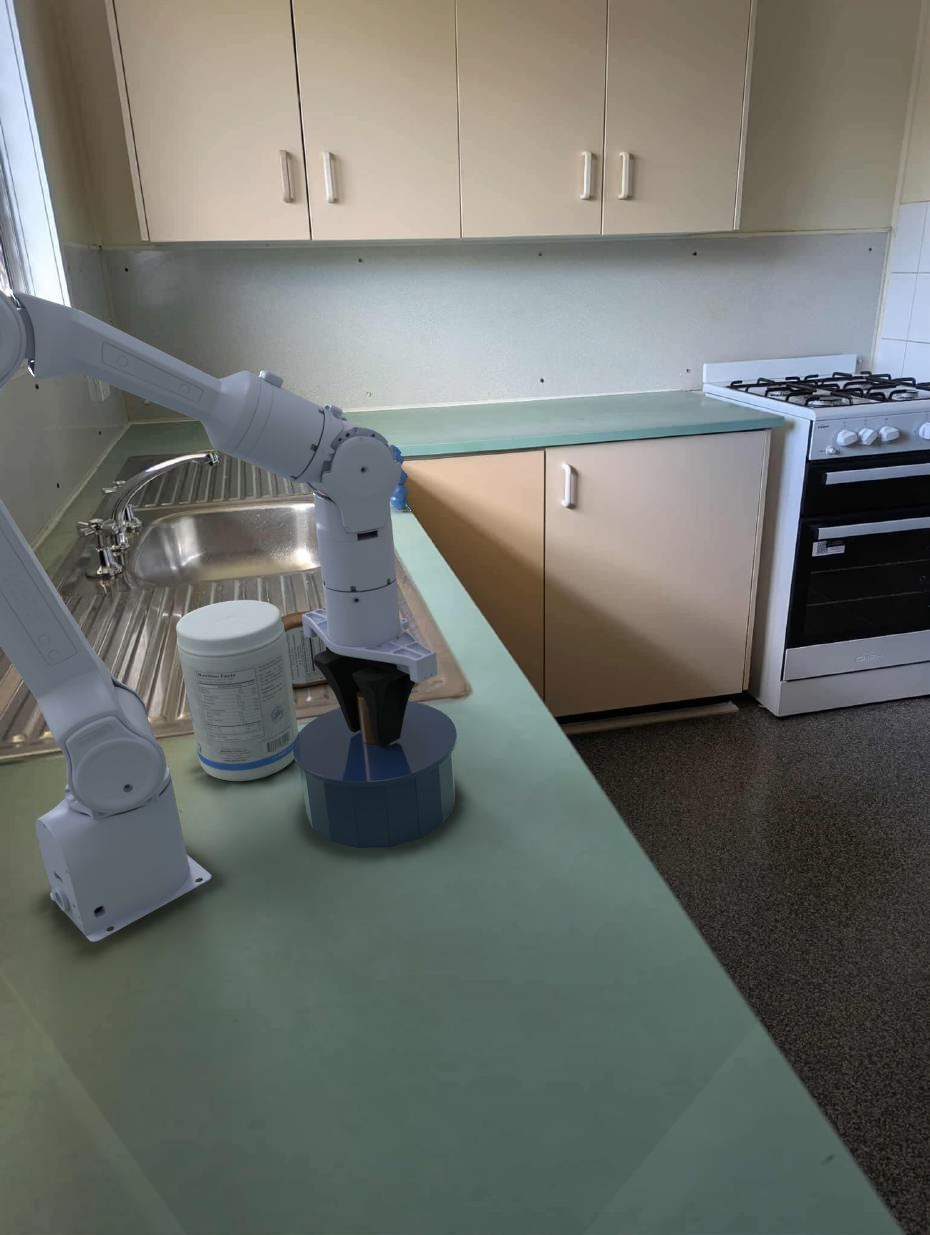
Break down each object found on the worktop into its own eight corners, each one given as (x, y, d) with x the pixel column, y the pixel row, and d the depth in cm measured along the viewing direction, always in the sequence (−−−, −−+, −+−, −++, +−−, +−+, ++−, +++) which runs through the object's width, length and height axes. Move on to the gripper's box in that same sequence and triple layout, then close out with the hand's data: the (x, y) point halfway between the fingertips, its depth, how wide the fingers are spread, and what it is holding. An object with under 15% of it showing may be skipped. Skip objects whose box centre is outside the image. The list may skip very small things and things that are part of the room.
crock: (372, 874, 67) (364, 803, 65) (279, 812, 75) (269, 747, 73) (485, 803, 75) (482, 738, 73) (390, 754, 84) (384, 694, 81)
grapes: (372, 503, 175) (366, 442, 170) (405, 499, 176) (400, 439, 172) (380, 517, 164) (374, 453, 160) (415, 513, 165) (410, 450, 161)
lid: (364, 815, 64) (357, 753, 62) (262, 753, 73) (253, 697, 71) (491, 743, 73) (488, 686, 71) (386, 696, 82) (381, 644, 80)
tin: (394, 662, 103) (388, 595, 100) (401, 672, 100) (395, 604, 97) (265, 685, 99) (255, 616, 96) (269, 697, 96) (258, 626, 93)
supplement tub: (209, 738, 88) (185, 602, 83) (304, 729, 89) (286, 594, 83) (191, 790, 79) (162, 642, 74) (297, 781, 80) (276, 633, 74)
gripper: (462, 585, 65) (470, 743, 70) (343, 550, 75) (358, 691, 80) (390, 612, 61) (405, 780, 66) (273, 571, 70) (294, 720, 75)
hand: (374, 734), depth 73 cm, fingers open, 3 cm apart
